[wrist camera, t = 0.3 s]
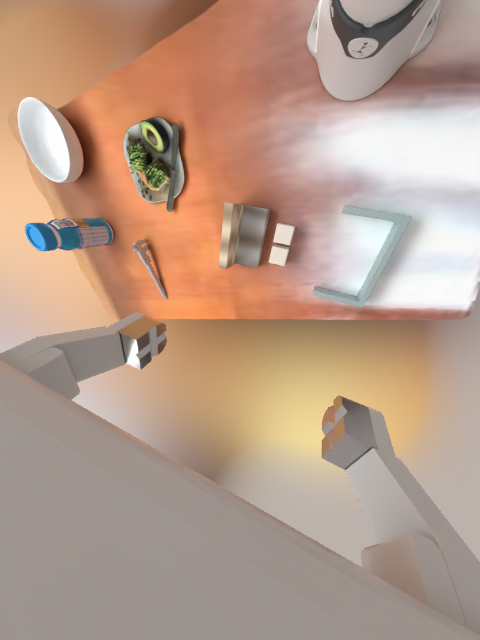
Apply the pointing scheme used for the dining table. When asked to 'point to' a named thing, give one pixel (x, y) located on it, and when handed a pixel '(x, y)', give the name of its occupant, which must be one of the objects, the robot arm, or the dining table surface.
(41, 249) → the beverage bottle
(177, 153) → the salad plate
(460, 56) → the dining table surface
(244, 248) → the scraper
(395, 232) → the tray
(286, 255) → the cream block
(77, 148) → the cereal bowl
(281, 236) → the cream block
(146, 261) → the caliper
